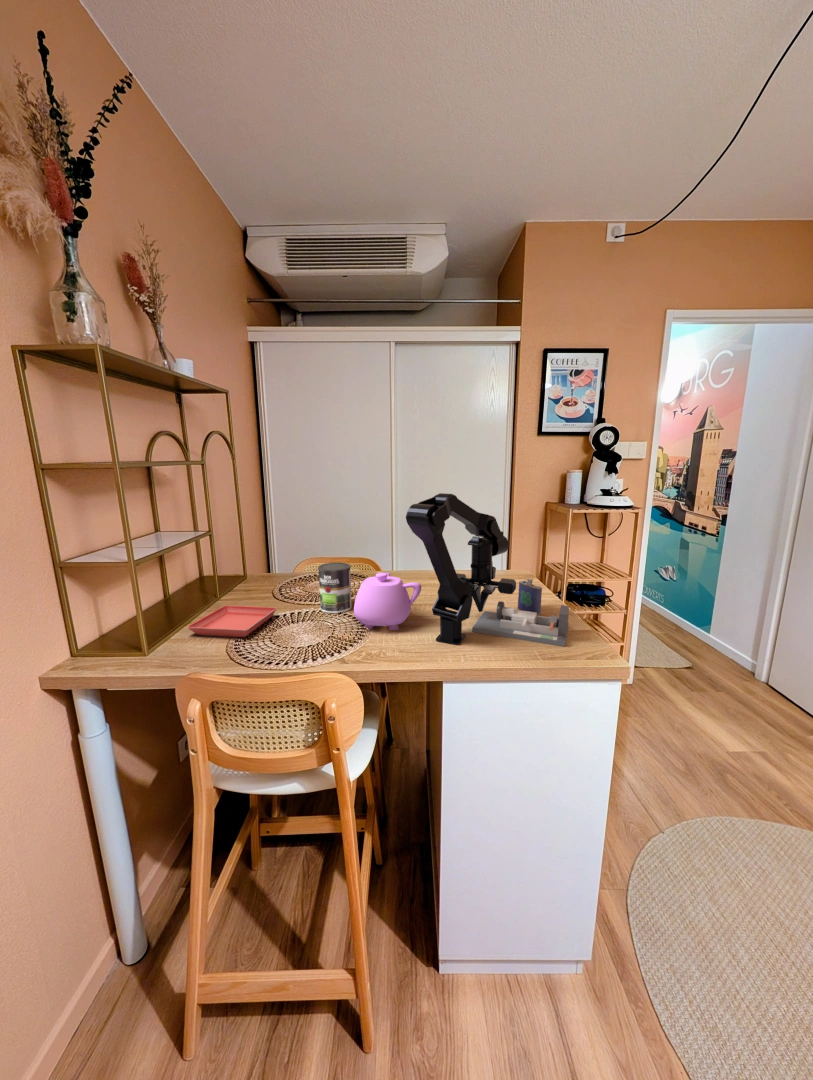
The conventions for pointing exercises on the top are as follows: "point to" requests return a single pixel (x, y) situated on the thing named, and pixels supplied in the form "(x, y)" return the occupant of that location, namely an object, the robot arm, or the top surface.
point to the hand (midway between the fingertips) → (480, 611)
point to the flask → (529, 597)
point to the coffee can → (335, 587)
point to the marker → (553, 622)
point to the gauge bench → (525, 628)
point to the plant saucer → (232, 621)
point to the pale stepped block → (516, 614)
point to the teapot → (384, 601)
